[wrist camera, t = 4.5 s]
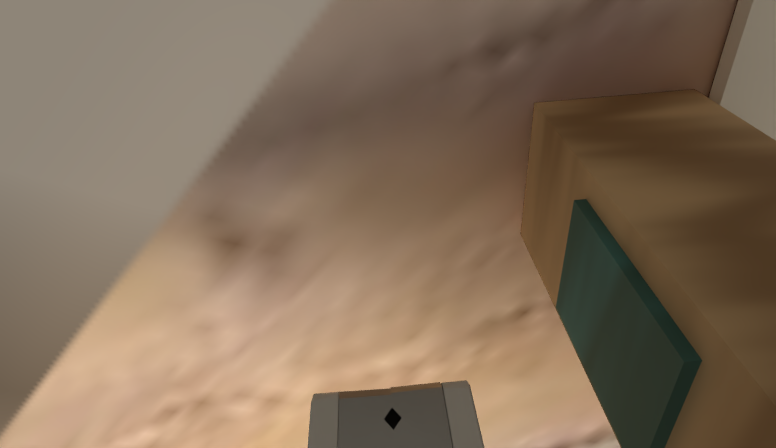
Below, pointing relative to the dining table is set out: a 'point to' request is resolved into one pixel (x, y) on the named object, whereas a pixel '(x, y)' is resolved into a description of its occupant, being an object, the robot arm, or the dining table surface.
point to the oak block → (661, 262)
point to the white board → (749, 66)
